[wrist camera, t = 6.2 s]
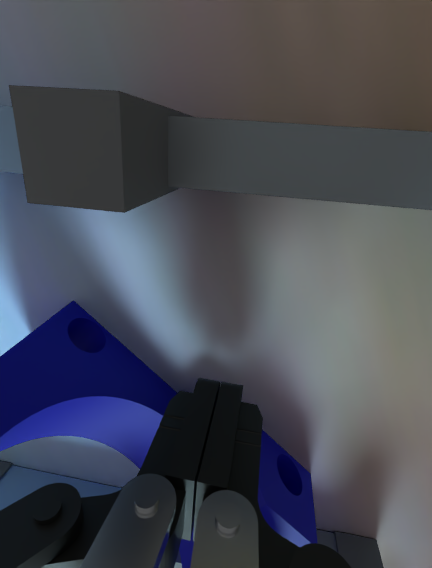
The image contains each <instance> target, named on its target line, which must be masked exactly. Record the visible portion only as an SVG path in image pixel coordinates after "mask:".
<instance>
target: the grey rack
mask: <svg viewBox="0 0 432 568" xmlns="http://www.w3.org/2000/svg"><path fill="white" fill-rule="evenodd" d="M9 88H10V95H11V101H12V106H0V172H9V173H20V174H23V177H24V183H25V189H26V196H27V202H28V203H34V204H44V205H54V206H64V207H74V208H84V209H94V210H104V211H114V212H124V213H125V212H127V211H129V210H131V209H134V208H136V207H138V206H140V205H143V204H145V203H147V202H149V201H152V200H154V199H156V198H158V197H160V196H163V195H165V194H167V193H169V192H172V191H174V190H176V189H178V188H189V189H200V190H211V191H222V192H234V193H245V194H256V195H268V196H279V197H290V198H301V199H313V200H324V201H335V202H346V203H358V204H369V205H380V206H391V207H403V208H414V209H425V210H432V132H425V131H408V130H392V129H376V128H359V127H343V126H327V125H310V124H294V123H277V122H261V121H245V120H228V119H212V118H196V117H193V116H190V115H187V114H184V113H181V112H178V111H175V110H173V109H170V108H167V107H164V106H161V105H158V104H155V103H152V102H149V101H146V100H144V99H141V98H138V97H135V96H132V95H129V94H126V93H123V92H120V91H109V90H90V89H71V88H52V87H33V86H14V85H9ZM53 483H67V484H70V485H72V486H74V487H75V488H76V489H77V490H78V492H79V494H80V496H81V498H82V497H90V496H99V495H106V494H111V493H114V492H117V491H119V490H121V489H122V488H117V487H113V486H108V485H103V484H98V483H94V482H89V481H84V480H79V479H75V478H70V477H65V476H60V475H56V474H51V473H46V472H41V471H37V470H32V469H27V468H22V467H18V466H13V465H12V463H8V462H3V461H0V510H2V509H4V508H6V507H7V506H9V505H11V504H13V503H14V502H16V501H18V500H20V499H21V498H23V497H25V496H27V495H29V494H30V493H32V492H34V491H36V490H37V489H39V488H41V487H43V486H46V485H49V484H53ZM316 532H317V542H318V544H322V545H325V546H328V547H330V548H331V549H333V550H335V551H336V552H337V553H339V554H340V555H341V556H342V557H343V558H344V559H345V560H346V562H347V563H348V564H349V565H350V567H351V568H384V567H383V563H382V560H381V556H380V552H379V548H378V544H377V540H375V539H370V538H365V537H360V536H356V535H351V534H346V533H341V532H337V531H335V533H331V532H326V531H321V530H317V529H316ZM174 568H182V563H181V557H180V552H179V551H178V555H177V559H176V563H175V566H174Z"/></svg>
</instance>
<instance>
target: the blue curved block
mask: <svg viewBox="0 0 432 568" xmlns="http://www.w3.org/2000/svg"><path fill="white" fill-rule="evenodd" d="M176 394H178V393H177V392H176V391H175V390H173V389H172V388H171V387H170V386H169V385H168V384H167V383H166V382H164V381H163V380H162V379H161V378H160V377H159V376H158V375H157V374H155V373H154V372H153V371H152V370H151V369H150V368H149V367H148V366H146V365H145V364H144V363H143V362H142V361H141V360H140V359H139V358H137V357H136V356H135V355H134V354H133V353H132V352H131V351H130V350H129V349H127V348H126V347H125V346H124V345H123V344H122V343H121V342H120V341H118V340H117V339H116V338H115V337H114V336H113V335H112V334H111V333H109V332H108V331H107V330H106V329H105V328H104V327H103V326H102V325H100V324H99V323H98V322H97V321H96V320H95V319H94V318H93V317H91V316H90V315H89V314H88V313H87V312H86V311H85V310H84V309H82V308H81V307H80V306H79V305H78V304H77V303H76V302H75V301H72V302H71V303H69V304H68V305H67V306H65V307H64V308H63V309H62V310H60V311H59V312H58V313H56V314H55V315H54V316H52V317H51V318H50V319H49V320H47V321H46V322H45V323H43V324H42V325H41V326H39V327H38V328H37V329H36V330H34V331H33V332H32V333H30V334H29V335H28V336H26V337H25V338H24V339H23V340H21V341H20V342H19V343H17V344H16V345H15V346H13V347H12V348H11V349H10V350H8V351H7V352H6V353H4V354H3V355H2V356H0V451H2V450H5V449H7V448H9V447H12V446H14V445H16V444H19V443H23V442H26V441H29V440H33V439H37V438H42V437H49V436H77V437H84V438H88V439H92V440H95V441H98V442H101V443H104V444H106V445H108V446H110V447H112V448H114V449H116V450H117V451H119V452H120V453H122V454H123V455H125V456H126V457H127V458H128V459H130V460H131V461H132V462H133V463H134V464H135V465H136V466H137V467H138V468H139V469H141V467H142V464H143V462H144V460H145V457H146V455H147V453H148V450H149V448H150V446H151V443H152V441H153V438H154V436H155V434H156V431H157V429H158V428H159V424H160V422H161V420H162V417H163V416H164V413H165V410H166V408H167V406H168V403H169V401H170V400H171V399H172V398H173V397H174V396H175V395H176ZM261 436H262V437H261V453H260V469H259V486H258V503H259V508H260V511H261V513H262V515H263V517H264V519H265V520H266V522H267V523H268V524H269V526H270V527H271V528H272V529H273V530H274V531H275V532H277V533H278V534H279V535H281V536H282V537H284V538H286V539H287V540H289V541H290V542H292V543H294V544H295V545H297V546H298V547H302V546H304V545H306V544H310V543H317V544H318V542H317V532H316V523H315V513H314V503H313V493H312V483H311V474H310V473H309V472H308V471H307V470H306V469H305V468H304V467H302V466H301V465H300V464H299V463H298V462H297V461H296V460H295V459H294V458H293V457H292V456H291V455H289V454H288V453H287V452H286V451H285V450H284V449H283V448H282V447H281V446H280V445H279V444H277V443H276V442H275V441H274V440H273V439H272V438H271V437H270V436H269V435H268V434H267V433H266V432H264V431H263V430H262V435H261ZM193 531H194V527H193ZM193 531H192V536H191V540H190V541H189V540H185V539H181V543H180V547H179V552H180V557H181V563H182V568H190V566H191V559H192V552H193V545H194V541H193Z"/></svg>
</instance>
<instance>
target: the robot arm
mask: <svg viewBox="0 0 432 568" xmlns="http://www.w3.org/2000/svg"><path fill="white" fill-rule="evenodd" d="M242 390H243V385H237V384H231V383H226V382H221V386H220V381H214V380H208V379H203V378H199V379H198V381H197V383H196V386H195V389H194V392H193V393H189V392H184V391H180V392H179V393H178V394H176V395H175V396H174V397H173V398H172V399H171V400H170V401H169V403H168V406H167V408H166V410H165V413H164V416H163V417H162V420H161V422H160V424H159V428H158V429H157V431H156V434H155V436H154V438H153V441H152V443H151V446H150V448H149V450H148V453H147V455H146V457H145V460H144V462H143V464H142V467H141V469H140V471H139V473H138V475H137V476H136V477H135V478H133V479H132V480H130V481H129V482H128V483H127V484H126V485H125V486H124V487H123V489H121V490H119V491H117V492H114V493H111V494H106V495H99V496H90V497H82V498H81V496H80V494H79V492H78V490H77V489H76V488H75V487H74V486H72V485H70V484H67V483H53V484H49V485H46V486H43V487H41V488H39V489H37V490H36V491H34V492H32V493H30V494H29V495H27V496H25V497H23V498H21V499H20V500H18V501H16V502H14V503H13V504H11V505H9V506H7V507H6V508H4V509H2V510H0V568H174V566H175V563H176V559H177V555H178V551H179V547H180V543H181V539H185V540H189V541H190V540H191V536H192V531H193V527H194V531H193V541H194V545H193V552H192V559H191V566H190V568H351V567H350V565H349V564H348V563H347V562H346V560H345V559H344V558H343V557H342V556H341V555H340V554H339V553H337V552H336V551H335V550H333V549H331V548H330V547H328V546H325V545H322V544H317V543H310V544H306V545H304V546H302V547H298V546H297V545H295V544H294V543H292V542H290V541H289V540H287V539H286V538H284V537H282V536H281V535H279V534H278V533H277V532H275V531H274V530H273V529H272V528H271V527H270V526H269V524H268V523H267V522H266V520H265V519H264V517H263V515H262V513H261V511H260V508H259V503H258V486H259V469H260V453H261V437H262V436H261V435H262V421H263V418H262V416H261V413H260V411H259V409H258V406H257V405H255V404H249V403H244V402H241V397H242Z"/></svg>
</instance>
